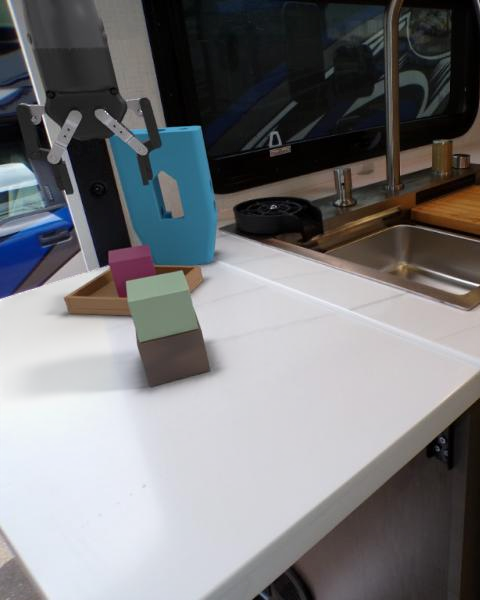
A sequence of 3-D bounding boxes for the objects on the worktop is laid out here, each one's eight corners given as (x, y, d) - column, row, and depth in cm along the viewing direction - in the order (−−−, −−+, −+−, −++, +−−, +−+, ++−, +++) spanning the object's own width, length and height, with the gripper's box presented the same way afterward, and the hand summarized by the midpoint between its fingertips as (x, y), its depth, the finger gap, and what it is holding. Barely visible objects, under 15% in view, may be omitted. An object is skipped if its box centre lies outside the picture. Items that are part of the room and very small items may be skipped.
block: (142, 270, 80) (105, 136, 71) (149, 258, 85) (115, 130, 76) (223, 261, 83) (197, 130, 74) (225, 250, 87) (201, 125, 78)
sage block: (139, 343, 51) (127, 301, 49) (136, 319, 55) (125, 280, 53) (198, 329, 53) (189, 289, 51) (191, 307, 57) (182, 269, 55)
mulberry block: (120, 301, 69) (108, 263, 66) (119, 287, 73) (108, 251, 70) (160, 293, 71) (150, 255, 68) (157, 280, 75) (148, 244, 72)
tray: (68, 313, 68) (63, 297, 67) (120, 278, 78) (115, 264, 77) (163, 316, 66) (159, 300, 65) (203, 280, 76) (200, 265, 75)
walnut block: (149, 387, 53) (136, 345, 50) (145, 359, 58) (134, 319, 55) (210, 370, 55) (201, 329, 53) (202, 344, 60) (193, 306, 58)
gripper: (138, 43, 64) (167, 176, 71) (-1, 46, 58) (45, 189, 66) (141, 43, 58) (172, 188, 65) (-13, 46, 52) (39, 204, 60)
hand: (108, 188), depth 65 cm, fingers open, 8 cm apart
